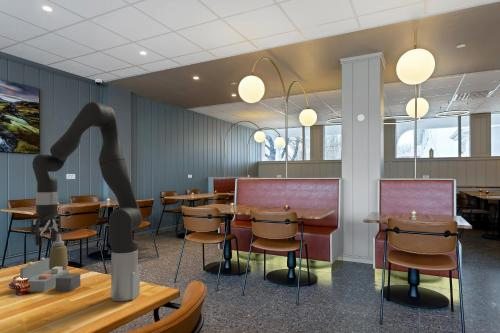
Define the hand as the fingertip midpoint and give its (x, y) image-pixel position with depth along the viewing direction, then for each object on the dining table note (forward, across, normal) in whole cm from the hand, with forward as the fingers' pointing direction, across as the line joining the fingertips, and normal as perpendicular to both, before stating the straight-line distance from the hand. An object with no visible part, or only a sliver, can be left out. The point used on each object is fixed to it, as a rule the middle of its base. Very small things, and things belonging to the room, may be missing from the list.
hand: (46, 243), depth 128 cm
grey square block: (+18, 0, -10) cm, 20 cm away
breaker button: (+17, 0, 0) cm, 17 cm away
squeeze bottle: (+18, +20, +8) cm, 28 cm away
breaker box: (+18, +3, +2) cm, 18 cm away
